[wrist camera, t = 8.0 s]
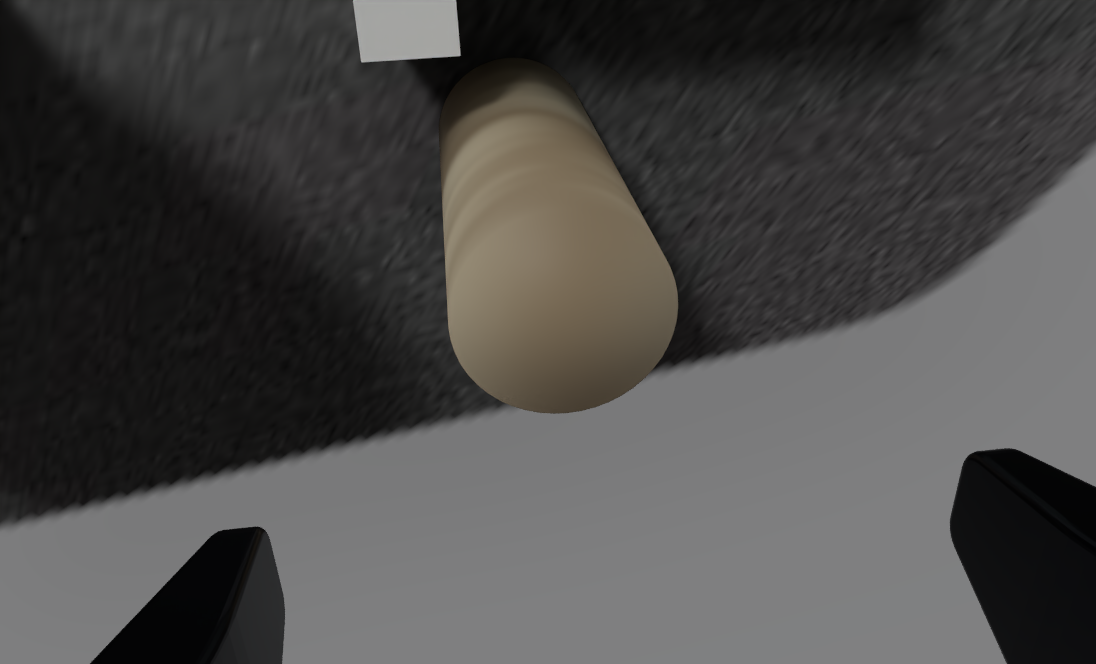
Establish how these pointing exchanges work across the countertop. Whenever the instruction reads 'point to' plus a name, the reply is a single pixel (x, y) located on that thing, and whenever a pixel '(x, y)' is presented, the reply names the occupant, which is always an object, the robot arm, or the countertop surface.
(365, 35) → the stop bar
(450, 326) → the dowel
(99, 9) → the countertop surface
